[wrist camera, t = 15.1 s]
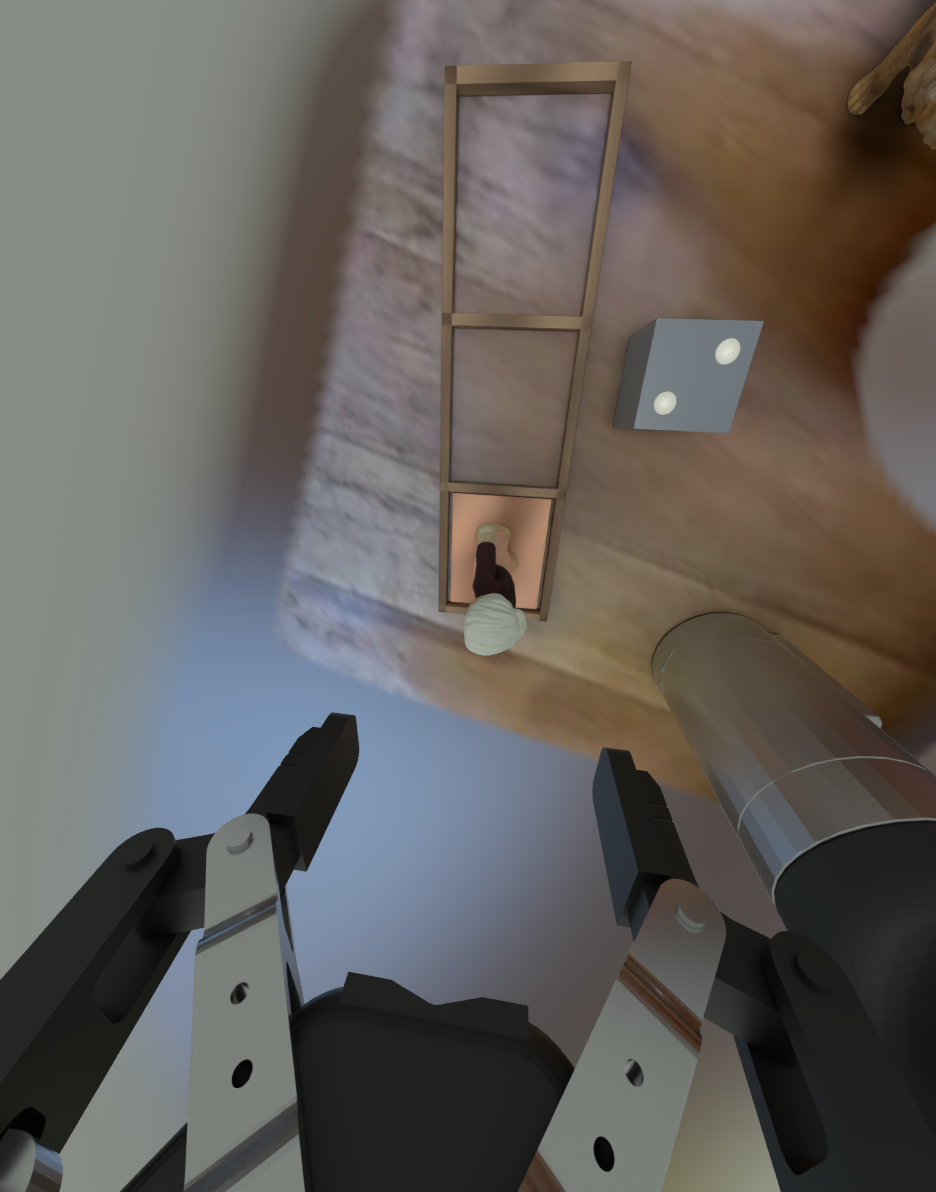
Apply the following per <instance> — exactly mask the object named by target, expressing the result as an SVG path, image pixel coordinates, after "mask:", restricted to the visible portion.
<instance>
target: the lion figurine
mask: <svg viewBox="0 0 936 1192" xmlns="http://www.w3.org/2000/svg"><path fill="white" fill-rule="evenodd" d="M908 65H909V67H910V72H909V74H908V76H907V78H906V80H905V82H904V85H903V87H904V89H905V90H904V96H903V99H902V104H901V108H902V109H903V110H902V116H901V118H902V119H903V121H904V123H905V124H906V125H909V124H911V123H916V127H917V128H918V129H919V132H921V133H922V134H923V135H924V137H923V143H925V144H927V145H929V146H930V148H931V149H936V3H935V4H934V5H933V6H932V7H931V8H930V9H929V10H927V11H926V12H925V13H924V14H923V15H922V16H921V18H920V19H919V20H918V21H917V22H916V23H915V24H914V26H913V27H912V28H911V29H910V30H909V32H908V33H907V34H906V35H905V36H904V37H903V39H902V40H901V41H900V42H899V43H898V44H897V45H896V46H895V47H894V49H893V50H892V51H891V52H890V54H889V55H888V56H887V57H886V58H885V59H884V60H883V61H882V62H881V63H880V64H879V65H878V66H877V67H876V68H875V69H873V70H872V71H871V72H870V73H869V74H867V75H866V76H865V77H863V78H862V79H861V80H860V81H859V82H857V83H856V84H855V86H854V87H853V88H852V90H851V91H850V93H849V95H848V102H847V108H848V111H849V113H851V114H856V115H861V114H863V113H864V112H865V111H866V110H867V109H868V108H869V107H870V105H871V104H872V103H873V102H874V100H876V99H877V98H879V97H880V96H881V95H882V94H883V93H884V92H885V91H886V89H887V88H888V86H889V85H890V84H891V83H892V81H893V79H894V78H895V77H896V76H897V74H898V73H899V72H901V71H902V70H903V69H904V68H906V67H907V66H908Z"/></svg>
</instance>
